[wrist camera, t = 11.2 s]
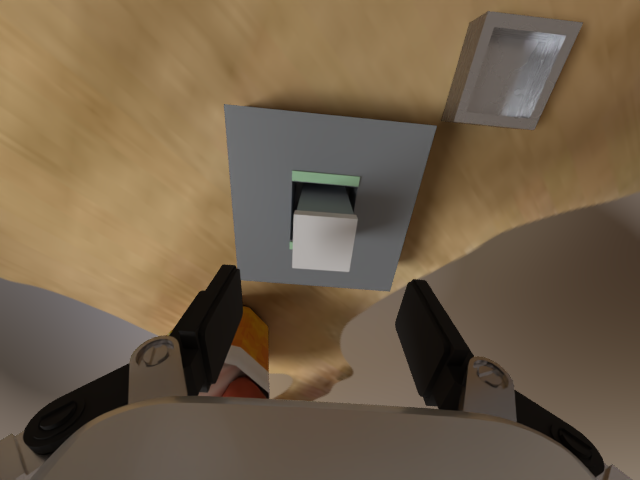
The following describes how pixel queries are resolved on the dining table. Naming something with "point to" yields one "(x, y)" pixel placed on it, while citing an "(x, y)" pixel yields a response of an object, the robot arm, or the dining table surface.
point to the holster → (508, 69)
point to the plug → (323, 228)
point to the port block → (323, 168)
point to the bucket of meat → (245, 362)
